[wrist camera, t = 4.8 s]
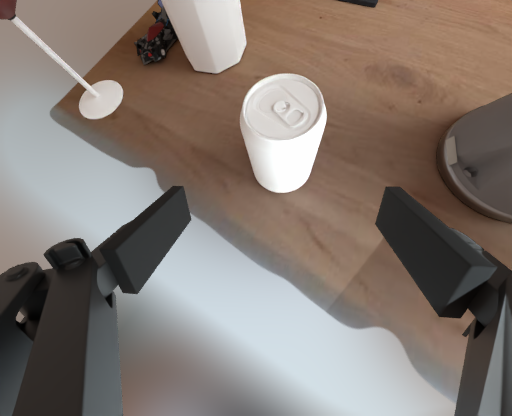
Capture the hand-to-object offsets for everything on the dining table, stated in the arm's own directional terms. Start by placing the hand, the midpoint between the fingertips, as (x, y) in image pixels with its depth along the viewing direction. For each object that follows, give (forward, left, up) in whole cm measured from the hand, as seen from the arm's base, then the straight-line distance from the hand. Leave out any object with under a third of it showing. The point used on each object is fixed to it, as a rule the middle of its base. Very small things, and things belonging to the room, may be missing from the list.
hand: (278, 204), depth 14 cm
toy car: (+36, -23, -14) cm, 45 cm away
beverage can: (+4, -9, -14) cm, 17 cm away
